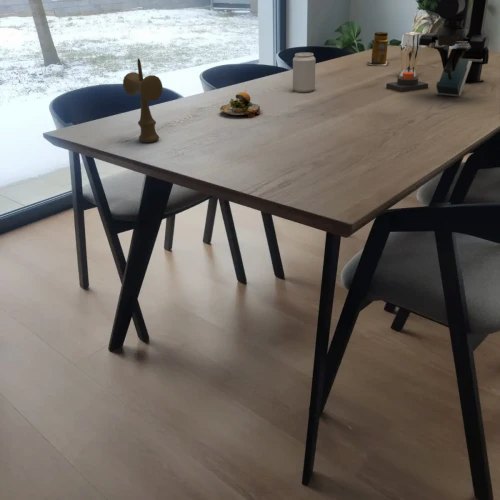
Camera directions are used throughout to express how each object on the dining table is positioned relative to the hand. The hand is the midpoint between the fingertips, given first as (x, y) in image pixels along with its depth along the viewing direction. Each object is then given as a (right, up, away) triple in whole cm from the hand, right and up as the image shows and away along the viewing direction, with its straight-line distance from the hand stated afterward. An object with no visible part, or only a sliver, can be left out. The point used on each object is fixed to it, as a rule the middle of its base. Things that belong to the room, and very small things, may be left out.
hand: (449, 70), depth 156 cm
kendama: (-86, -26, -24) cm, 93 cm away
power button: (-8, +3, +16) cm, 18 cm away
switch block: (-8, 0, +18) cm, 19 cm away
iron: (+4, 0, +7) cm, 8 cm away
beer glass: (-2, +9, +34) cm, 36 cm away
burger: (-63, -14, -3) cm, 65 cm away
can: (-42, 0, +21) cm, 47 cm away
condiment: (-7, +23, +59) cm, 64 cm away
